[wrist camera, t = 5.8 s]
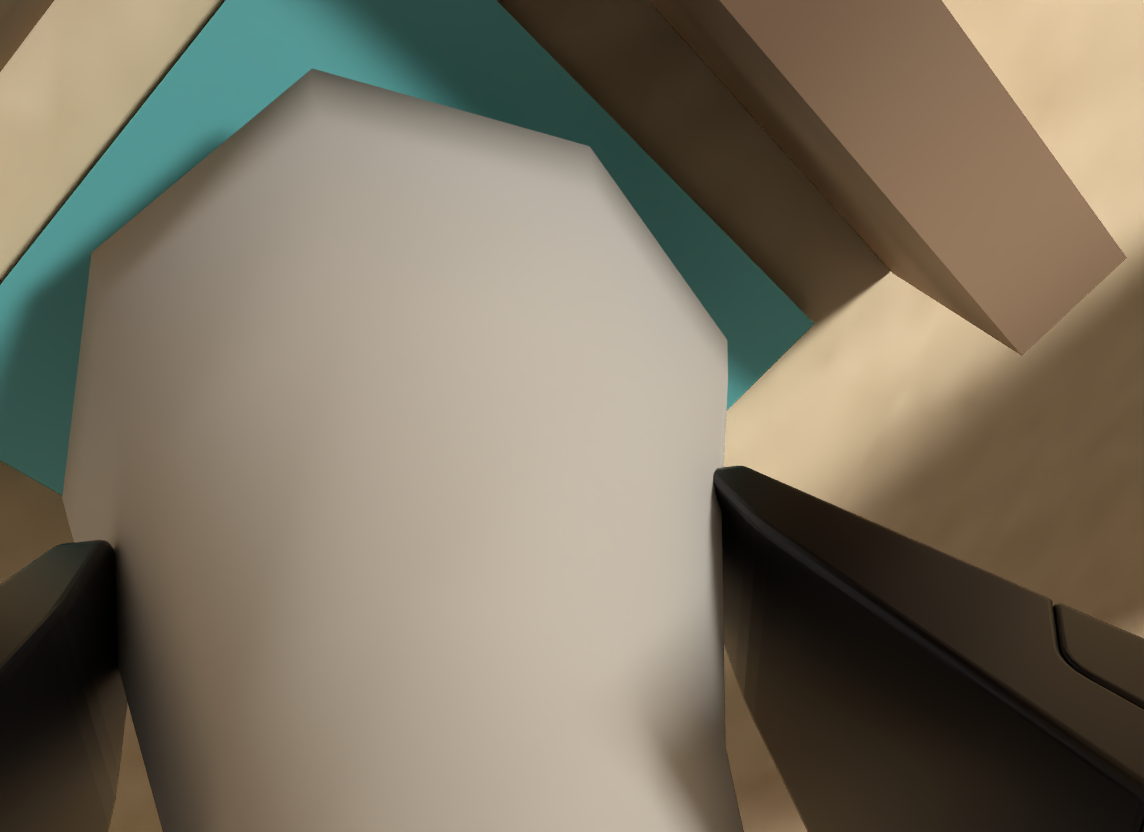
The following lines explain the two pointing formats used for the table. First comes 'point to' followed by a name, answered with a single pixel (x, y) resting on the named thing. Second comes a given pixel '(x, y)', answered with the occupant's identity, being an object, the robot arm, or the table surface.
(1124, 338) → the table surface
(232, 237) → the flask
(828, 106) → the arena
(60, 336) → the pad
